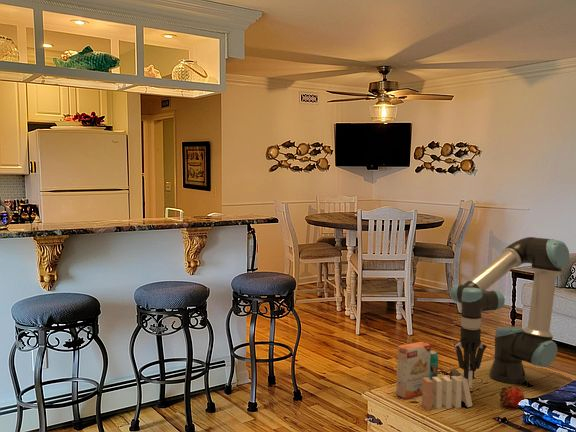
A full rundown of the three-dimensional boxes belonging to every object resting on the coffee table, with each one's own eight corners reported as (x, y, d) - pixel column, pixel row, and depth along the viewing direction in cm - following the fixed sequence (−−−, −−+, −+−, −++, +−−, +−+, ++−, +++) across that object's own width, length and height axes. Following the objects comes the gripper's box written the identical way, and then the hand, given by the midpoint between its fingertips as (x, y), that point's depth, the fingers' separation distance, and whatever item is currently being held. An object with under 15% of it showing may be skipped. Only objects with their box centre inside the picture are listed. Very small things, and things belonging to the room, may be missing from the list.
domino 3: (445, 403, 219) (446, 376, 218) (451, 408, 214) (452, 380, 213) (440, 403, 218) (441, 376, 218) (446, 408, 213) (447, 381, 213)
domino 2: (436, 403, 218) (436, 376, 217) (441, 408, 213) (442, 381, 212) (431, 404, 218) (432, 376, 217) (436, 409, 213) (437, 381, 212)
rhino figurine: (461, 392, 231) (461, 378, 230) (447, 380, 244) (447, 367, 244) (470, 391, 231) (470, 377, 231) (456, 380, 245) (456, 366, 244)
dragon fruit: (498, 411, 215) (519, 411, 220) (514, 405, 208) (535, 405, 214) (490, 390, 219) (512, 389, 224) (506, 383, 213) (527, 383, 218)
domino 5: (466, 400, 220) (461, 375, 219) (472, 406, 215) (467, 379, 214) (461, 402, 220) (456, 376, 218) (467, 407, 215) (462, 381, 214)
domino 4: (455, 402, 219) (455, 375, 218) (460, 407, 214) (461, 380, 213) (450, 403, 219) (451, 376, 218) (456, 408, 214) (456, 380, 213)
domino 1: (426, 404, 217) (427, 377, 217) (431, 409, 212) (432, 381, 212) (421, 404, 217) (422, 377, 216) (426, 409, 212) (427, 382, 211)
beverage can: (429, 389, 233) (430, 354, 232) (420, 384, 238) (421, 350, 237) (440, 387, 236) (441, 352, 235) (430, 382, 241) (431, 349, 240)
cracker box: (406, 400, 221) (407, 349, 220) (395, 395, 226) (396, 345, 225) (430, 393, 229) (431, 344, 227) (419, 388, 234) (420, 340, 232)
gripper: (481, 324, 220) (479, 382, 221) (450, 325, 218) (448, 383, 219) (491, 329, 213) (488, 388, 214) (459, 330, 211) (457, 390, 212)
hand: (468, 386), depth 217 cm, fingers closed
